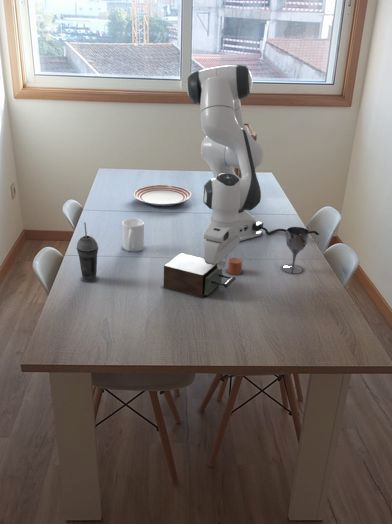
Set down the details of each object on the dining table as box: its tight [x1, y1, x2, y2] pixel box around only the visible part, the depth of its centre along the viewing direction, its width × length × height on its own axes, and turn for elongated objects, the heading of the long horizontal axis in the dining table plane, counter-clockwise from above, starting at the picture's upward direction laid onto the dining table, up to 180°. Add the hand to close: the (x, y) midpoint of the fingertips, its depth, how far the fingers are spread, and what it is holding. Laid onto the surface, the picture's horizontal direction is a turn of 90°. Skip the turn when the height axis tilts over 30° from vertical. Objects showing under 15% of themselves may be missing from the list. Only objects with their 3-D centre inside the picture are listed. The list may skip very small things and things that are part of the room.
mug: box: [121, 218, 145, 253], centre depth 222 cm, size 12×8×10 cm
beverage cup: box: [76, 222, 99, 283], centre depth 196 cm, size 7×7×20 cm
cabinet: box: [163, 252, 217, 298], centre depth 198 cm, size 15×13×8 cm
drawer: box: [203, 268, 236, 297], centre depth 196 cm, size 19×11×6 cm, turn 64°
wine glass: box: [282, 226, 310, 274], centre depth 211 cm, size 8×8×15 cm
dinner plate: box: [133, 184, 192, 207], centre depth 276 cm, size 28×27×3 cm
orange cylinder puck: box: [227, 257, 243, 276], centre depth 210 cm, size 5×5×4 cm
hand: (221, 267), depth 191 cm, fingers closed
